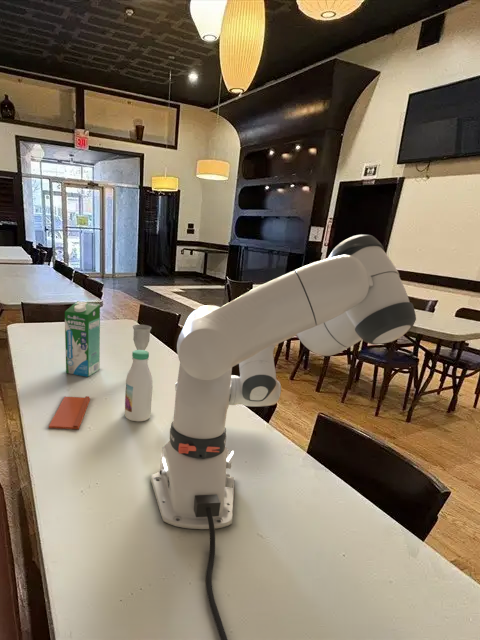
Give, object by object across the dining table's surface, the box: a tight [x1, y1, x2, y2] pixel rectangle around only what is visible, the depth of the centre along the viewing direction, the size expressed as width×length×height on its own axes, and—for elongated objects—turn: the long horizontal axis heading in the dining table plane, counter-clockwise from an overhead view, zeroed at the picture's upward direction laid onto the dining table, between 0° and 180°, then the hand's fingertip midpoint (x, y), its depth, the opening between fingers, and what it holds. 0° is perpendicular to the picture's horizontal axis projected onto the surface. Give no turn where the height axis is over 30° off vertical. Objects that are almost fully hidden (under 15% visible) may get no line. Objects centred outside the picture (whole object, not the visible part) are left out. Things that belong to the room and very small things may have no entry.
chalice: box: [132, 324, 152, 351], centre depth 152 cm, size 7×7×18 cm
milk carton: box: [64, 300, 101, 378], centre depth 149 cm, size 9×9×25 cm
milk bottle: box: [124, 349, 153, 422], centre depth 118 cm, size 8×8×20 cm
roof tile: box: [48, 395, 91, 430], centre depth 121 cm, size 20×8×1 cm, turn 2°
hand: (175, 387), depth 119 cm, fingers closed
